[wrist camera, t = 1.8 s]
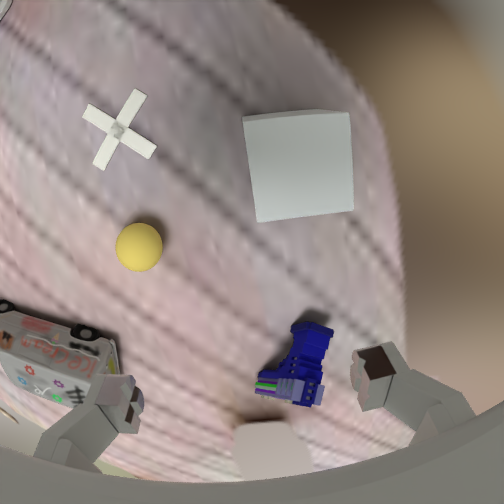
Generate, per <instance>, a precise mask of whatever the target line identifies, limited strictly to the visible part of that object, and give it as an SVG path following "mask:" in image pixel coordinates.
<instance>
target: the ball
mask: <svg viewBox="0 0 504 504" xmlns="http://www.w3.org/2000/svg"><path fill="white" fill-rule="evenodd" d="M162 249H163V245H162V240H161V237H160V235H159V233H158V232H157V231H156V230H155V229H154V228H153V227H151V226H150V225H147V224H144V223H134V224H131V225H129V226H127V227H125V228H124V229H123V230H122V231H121V232H120V234H119V236H118V238H117V241H116V254H117V257H118V259H119V261H120V262H121V263H122V265H123V266H125V267H126V268H128V269H129V270H132V271H137V272H141V271H146V270H149V269H151V268H152V267H154V266H155V265H156V264H157V262H158V261H159V259H160V257H161V255H162Z"/></svg>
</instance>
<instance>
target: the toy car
mask: <svg viewBox="0 0 504 504" xmlns="http://www.w3.org/2000/svg"><path fill="white" fill-rule="evenodd" d="M0 362H1V365H2V367H3V369H4V371H5V373H6V374H7V376H8V377H9V379H10V380H11V381H12V382H13V384H14V385H15V386H17V387H19V388H21V389H24V390H26V391H28V392H30V393H32V394H34V395H37V396H40V397H42V398H45V399H47V400H50V401H53V402H55V403H58V404H61V405H64V406H67V407H70V408H73V409H74V408H75V407H76V406H78V405H79V404H83V403H84V400H85V398H86V395H87V393H88V391H89V388H90V386H91V383H92V381H93V379H94V377H95V376H96V375H97V374H115V375H120V371H119V364H118V357H117V351H116V344H115V341H114V340H113V339H111V340H108V339H105V338H102V337H100V338H99V332H98V330H96V329H94V328H90V327H87V326H85V325H81V324H77V325H76V326H75V328H74V331H73V333H72V329H71V328H68V327H65V326H61V325H58V324H55V323H52V322H48V321H45V320H42V319H38V318H35V317H32V316H28V315H25V314H22V313H19V312H16V311H14V305H13V303H11V302H9V301H7V300H4V299H3V300H0Z"/></svg>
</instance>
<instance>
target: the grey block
mask: <svg viewBox="0 0 504 504" xmlns="http://www.w3.org/2000/svg"><path fill="white" fill-rule="evenodd" d="M242 122H243V129H244V136H245V142H246V149H247V156H248V163H249V169H250V176H251V183H252V190H253V197H254V204H255V211H256V218H257V223H260V222H268V221H275V220H282V219H290V218H297V217H305V216H313V215H321V214H329V213H337V212H345V211H353V210H354V192H353V162H352V143H351V129H350V116H349V113H348V112H340V111H332V110H323V109H310V110H297V111H286V112H276V113H267V114H259V115H251V116H244V117H242Z"/></svg>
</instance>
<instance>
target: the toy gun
mask: <svg viewBox="0 0 504 504" xmlns="http://www.w3.org/2000/svg"><path fill="white" fill-rule="evenodd" d="M290 332H291V333H293V334H294V337H293V338H294V342H293V347H291V349H290V353H289V355H287V357H286V359H283V362H280V363H279V367H278V368H277V369H276V370H263V372H259V374H258V382H256V384H255V388H256V389H255V393H256V394H261V395H262V396H261V397H262V398H266V399H271V400H274V398H279V399H284V400H285V403H290V404H295V405H300V406H306V407H311V405H312V404H314V405H321V400H322V396H323V392H324V388H325V386H323V385H320V384H321V379H322V375H323V372H321V370H322V365H321V361H322V359H324V356H325V351H326V349H328V346H329V341H330V338H332V337H333V334H334V331H333V329H330V328H327V327H324V326H321V325H319V324H316V323H313V322H311V323H310V322H304V323H300V324H296V325H292V326H291V330H290Z"/></svg>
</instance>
